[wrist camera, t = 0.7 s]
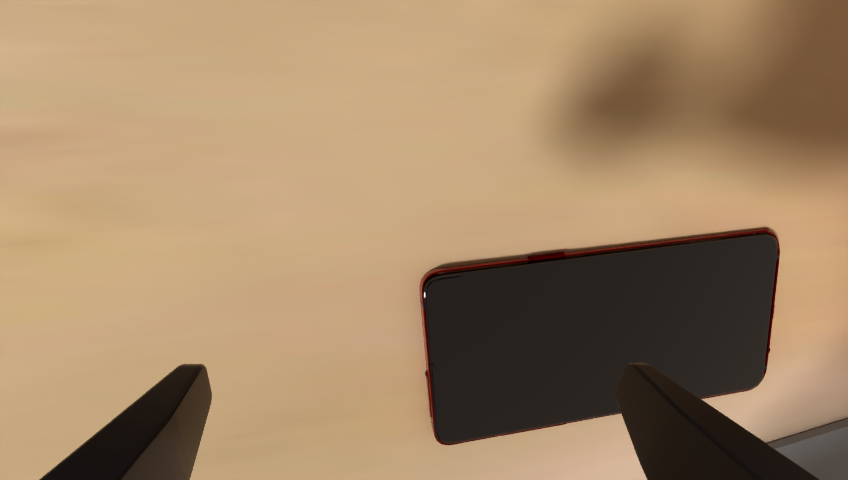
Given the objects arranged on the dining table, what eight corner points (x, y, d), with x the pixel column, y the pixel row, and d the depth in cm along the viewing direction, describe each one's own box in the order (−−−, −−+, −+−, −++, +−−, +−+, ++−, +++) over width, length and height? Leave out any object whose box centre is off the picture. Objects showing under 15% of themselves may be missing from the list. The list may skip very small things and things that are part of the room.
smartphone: (770, 391, 29) (434, 454, 26) (750, 380, 31) (430, 437, 27) (789, 227, 26) (417, 273, 23) (766, 223, 28) (414, 266, 25)
